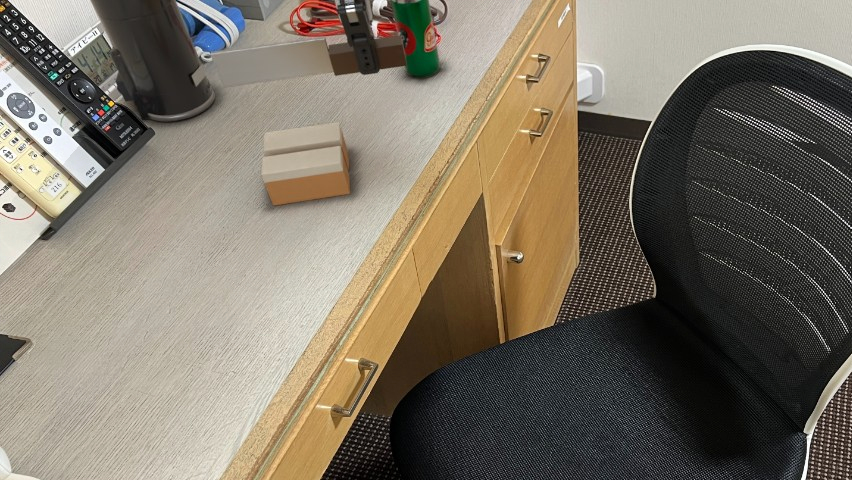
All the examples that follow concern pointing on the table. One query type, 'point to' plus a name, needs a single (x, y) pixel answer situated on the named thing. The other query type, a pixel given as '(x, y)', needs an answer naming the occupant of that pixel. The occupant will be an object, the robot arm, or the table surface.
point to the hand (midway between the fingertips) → (369, 65)
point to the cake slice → (305, 175)
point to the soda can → (417, 36)
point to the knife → (299, 60)
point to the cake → (305, 140)
